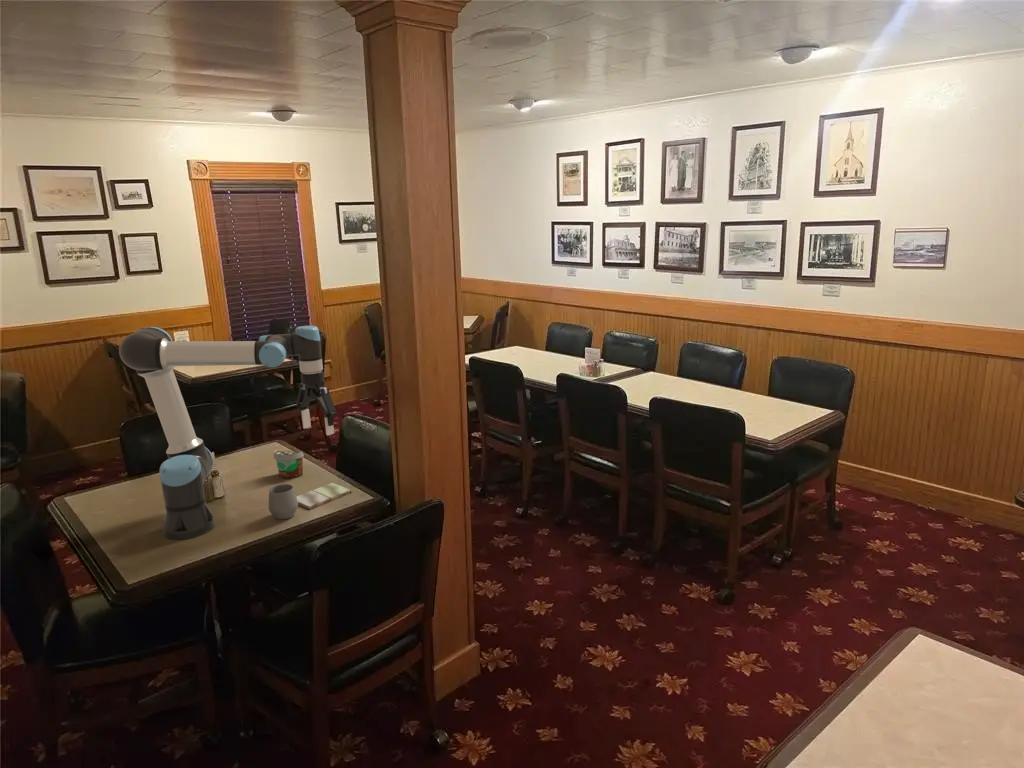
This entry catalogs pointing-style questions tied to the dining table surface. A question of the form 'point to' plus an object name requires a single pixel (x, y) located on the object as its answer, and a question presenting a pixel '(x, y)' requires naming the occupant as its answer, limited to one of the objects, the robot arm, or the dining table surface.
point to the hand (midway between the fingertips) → (318, 430)
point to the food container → (289, 464)
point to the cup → (282, 501)
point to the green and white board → (321, 495)
